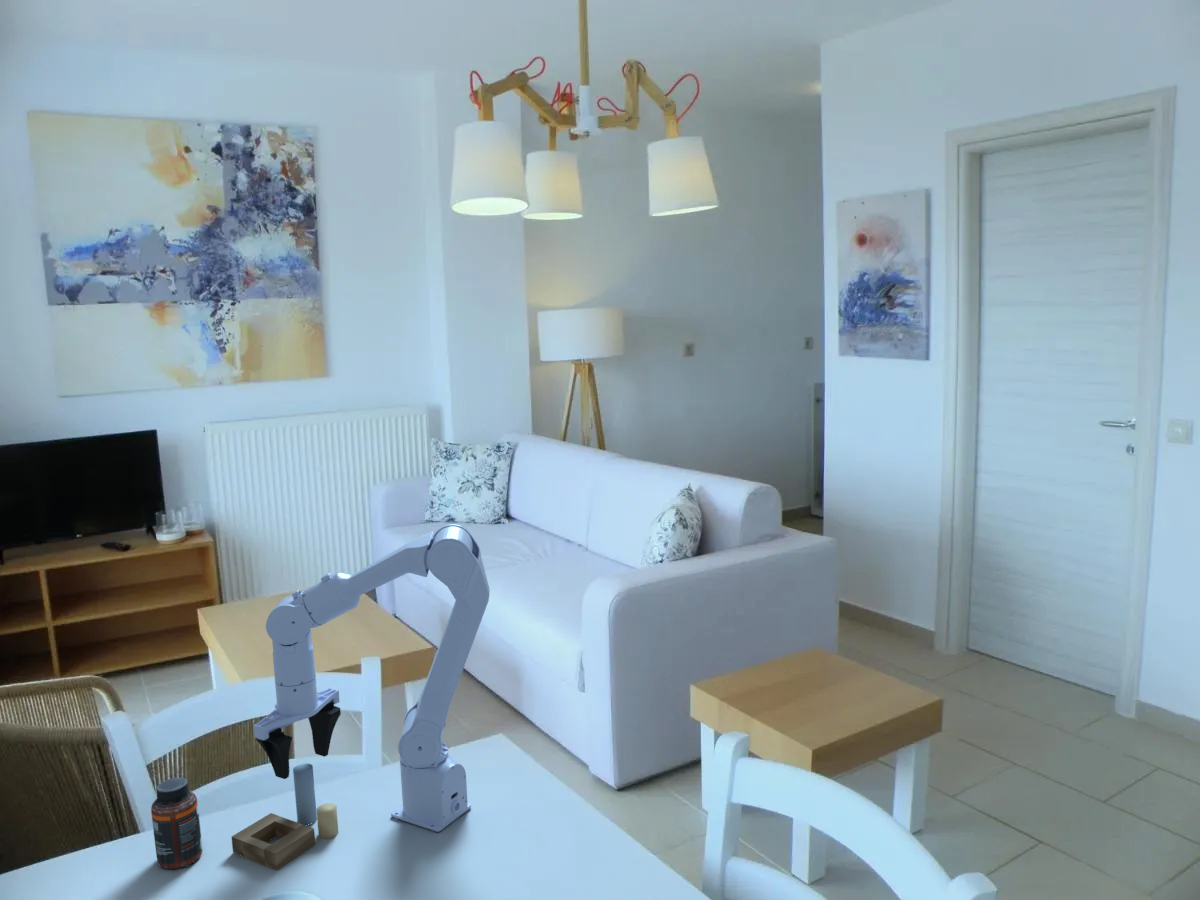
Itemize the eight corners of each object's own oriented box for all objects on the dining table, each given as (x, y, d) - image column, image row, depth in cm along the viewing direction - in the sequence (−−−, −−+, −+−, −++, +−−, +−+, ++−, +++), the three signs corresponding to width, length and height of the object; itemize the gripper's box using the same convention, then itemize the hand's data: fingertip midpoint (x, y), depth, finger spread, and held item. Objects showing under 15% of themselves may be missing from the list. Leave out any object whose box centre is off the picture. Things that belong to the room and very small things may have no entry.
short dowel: (342, 831, 139) (340, 806, 138) (328, 840, 136) (326, 815, 136) (328, 826, 140) (326, 801, 140) (314, 835, 138) (312, 810, 137)
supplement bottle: (211, 847, 136) (203, 773, 134) (189, 872, 130) (181, 795, 128) (171, 846, 136) (163, 772, 134) (148, 870, 130) (139, 794, 129)
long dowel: (321, 818, 142) (316, 766, 141) (306, 827, 140) (302, 774, 139) (307, 814, 144) (303, 761, 142) (293, 822, 141) (288, 770, 140)
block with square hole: (315, 844, 135) (314, 828, 135) (276, 870, 130) (275, 853, 129) (272, 828, 140) (271, 812, 140) (233, 852, 134) (231, 836, 134)
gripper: (313, 657, 147) (320, 739, 149) (236, 691, 134) (244, 780, 136) (346, 665, 143) (352, 749, 145) (270, 701, 131) (277, 792, 133)
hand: (302, 765), depth 140 cm, fingers open, 7 cm apart
